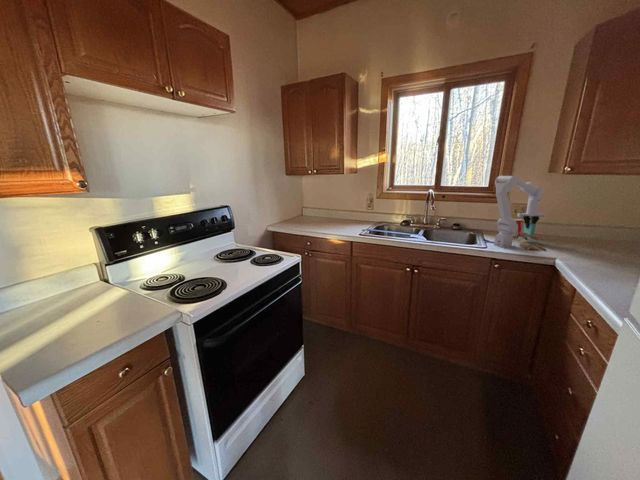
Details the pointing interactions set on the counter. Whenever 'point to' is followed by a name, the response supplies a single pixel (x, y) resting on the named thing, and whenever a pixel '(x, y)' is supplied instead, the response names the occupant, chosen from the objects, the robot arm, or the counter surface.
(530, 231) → the board
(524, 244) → the offcut
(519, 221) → the soda can
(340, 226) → the counter surface
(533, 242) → the stand
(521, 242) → the offcut
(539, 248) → the rack
